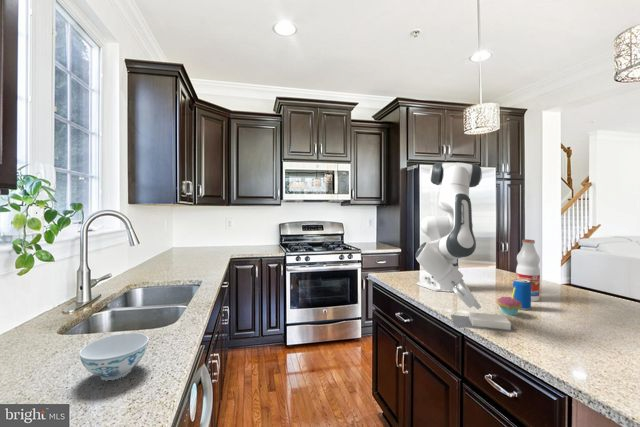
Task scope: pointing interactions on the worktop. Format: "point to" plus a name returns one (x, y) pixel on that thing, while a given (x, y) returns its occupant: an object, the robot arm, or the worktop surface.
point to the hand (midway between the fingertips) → (478, 307)
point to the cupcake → (509, 304)
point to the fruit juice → (529, 267)
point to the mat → (465, 322)
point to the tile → (489, 320)
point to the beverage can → (523, 292)
